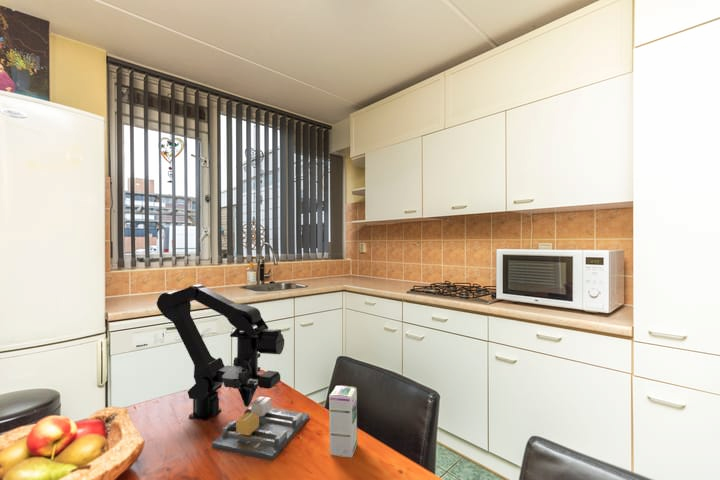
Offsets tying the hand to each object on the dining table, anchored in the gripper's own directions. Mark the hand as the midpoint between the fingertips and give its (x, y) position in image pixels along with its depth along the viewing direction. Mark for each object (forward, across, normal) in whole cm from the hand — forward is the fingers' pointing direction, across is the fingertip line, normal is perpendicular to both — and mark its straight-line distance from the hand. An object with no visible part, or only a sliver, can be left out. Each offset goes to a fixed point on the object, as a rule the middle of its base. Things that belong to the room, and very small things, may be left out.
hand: (247, 406), depth 96 cm
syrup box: (+4, +32, -6) cm, 32 cm away
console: (+4, +9, -4) cm, 10 cm away
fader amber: (+2, +7, -9) cm, 11 cm away
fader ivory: (+2, +5, 0) cm, 5 cm away
